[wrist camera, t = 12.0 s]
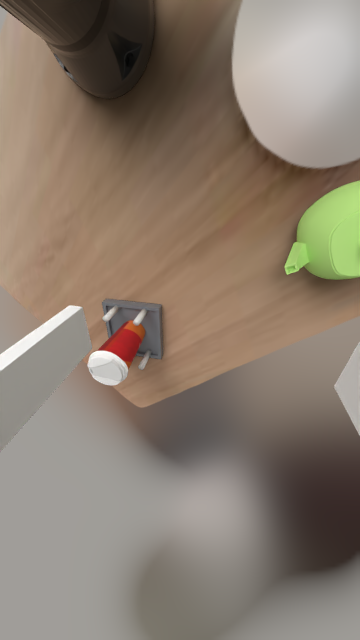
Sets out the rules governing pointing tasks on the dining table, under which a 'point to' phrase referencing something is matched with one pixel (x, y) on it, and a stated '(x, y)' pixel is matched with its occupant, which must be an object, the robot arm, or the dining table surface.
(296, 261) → the teapot
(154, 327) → the tray
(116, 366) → the coffee cup
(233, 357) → the dining table surface
